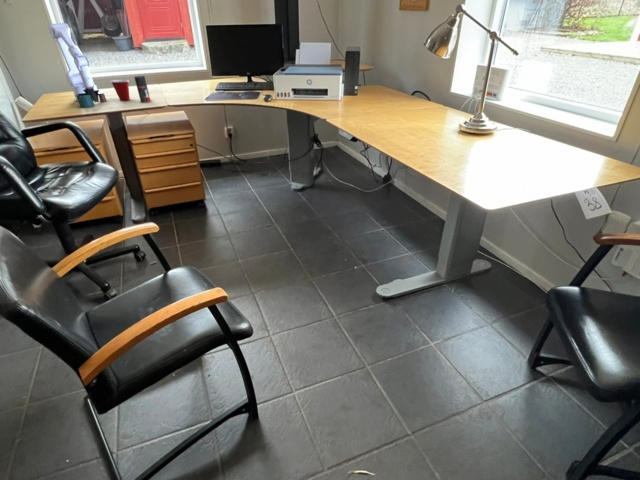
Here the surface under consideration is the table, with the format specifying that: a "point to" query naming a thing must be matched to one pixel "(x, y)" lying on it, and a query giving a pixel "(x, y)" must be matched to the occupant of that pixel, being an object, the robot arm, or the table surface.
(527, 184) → the table surface
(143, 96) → the deodorant
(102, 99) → the block
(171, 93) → the table surface
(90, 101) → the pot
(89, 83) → the robot arm
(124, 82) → the plastic cup
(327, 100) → the table surface
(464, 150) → the table surface
